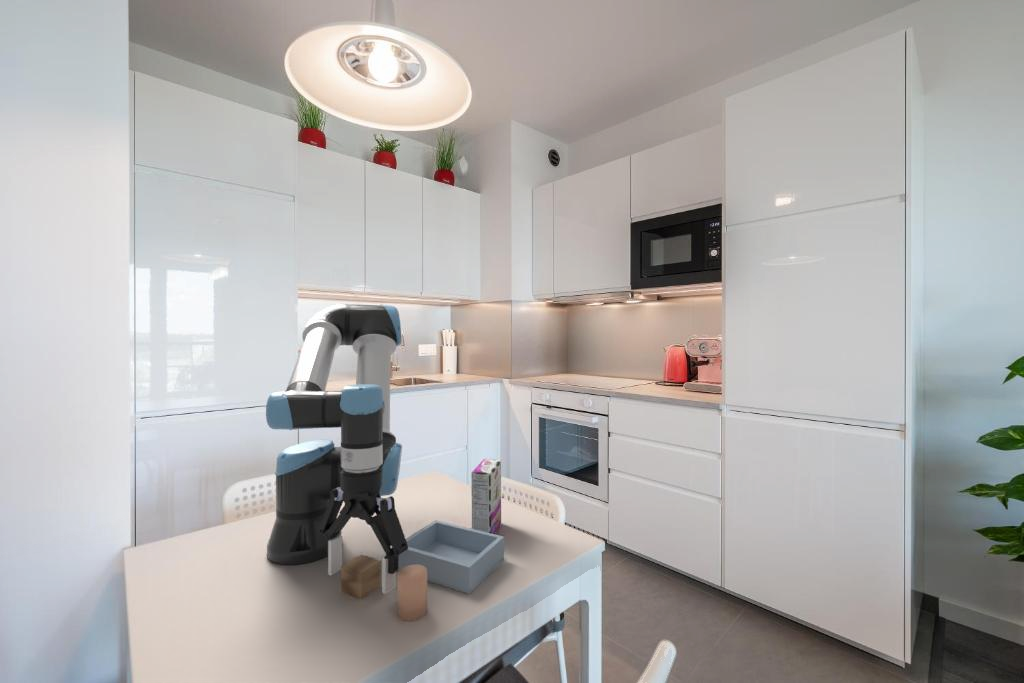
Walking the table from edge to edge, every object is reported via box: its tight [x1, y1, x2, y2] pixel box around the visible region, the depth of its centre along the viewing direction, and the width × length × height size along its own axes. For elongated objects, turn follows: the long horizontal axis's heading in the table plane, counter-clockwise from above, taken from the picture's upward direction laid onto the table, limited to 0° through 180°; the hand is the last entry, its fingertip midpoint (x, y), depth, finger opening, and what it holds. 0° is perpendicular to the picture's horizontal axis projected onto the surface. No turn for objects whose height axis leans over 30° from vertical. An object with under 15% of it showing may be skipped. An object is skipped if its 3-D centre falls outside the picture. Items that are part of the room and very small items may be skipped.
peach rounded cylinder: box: [397, 565, 428, 622], centre depth 76 cm, size 5×5×7 cm
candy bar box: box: [471, 458, 502, 535], centre depth 108 cm, size 11×5×16 cm, turn 168°
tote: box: [397, 519, 505, 595], centre depth 92 cm, size 18×14×5 cm
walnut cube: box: [340, 553, 382, 600], centre depth 83 cm, size 5×5×5 cm
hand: (361, 580), depth 83 cm, fingers open, 13 cm apart
